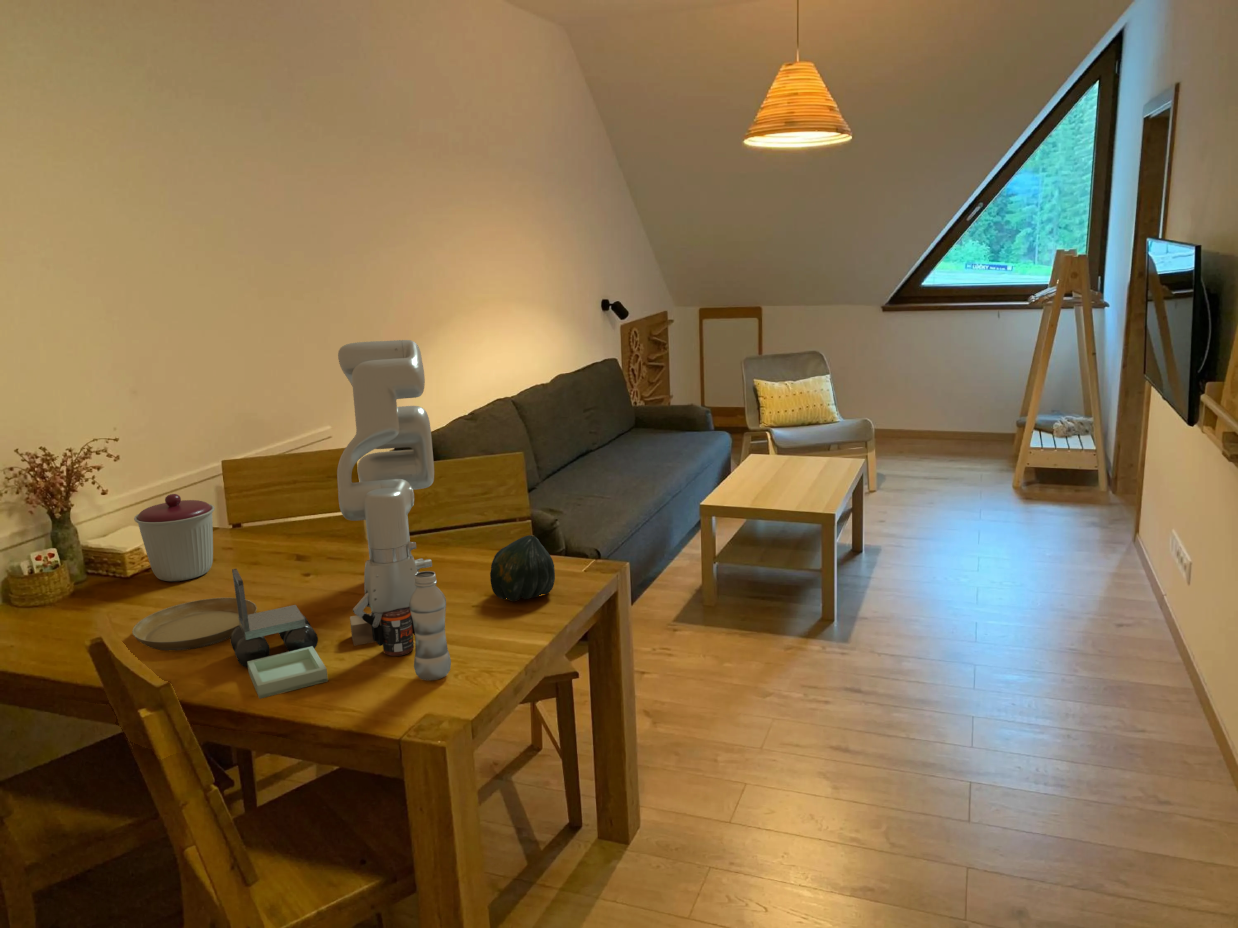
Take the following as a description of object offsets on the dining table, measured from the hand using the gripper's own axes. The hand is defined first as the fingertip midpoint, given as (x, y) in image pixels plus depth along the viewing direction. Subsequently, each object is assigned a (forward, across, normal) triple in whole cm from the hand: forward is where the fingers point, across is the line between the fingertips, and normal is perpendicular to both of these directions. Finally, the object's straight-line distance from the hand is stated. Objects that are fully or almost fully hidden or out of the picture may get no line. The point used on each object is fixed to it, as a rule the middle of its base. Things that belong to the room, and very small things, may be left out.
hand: (397, 638), depth 177 cm
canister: (+3, +32, -77) cm, 83 cm away
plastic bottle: (+3, -2, +15) cm, 15 cm away
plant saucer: (+3, +33, -35) cm, 48 cm away
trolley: (+3, +21, -13) cm, 25 cm away
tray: (+3, +21, 0) cm, 21 cm away
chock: (+3, +3, -10) cm, 11 cm away
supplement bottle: (+3, 0, 0) cm, 3 cm away
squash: (+3, -33, -13) cm, 36 cm away
